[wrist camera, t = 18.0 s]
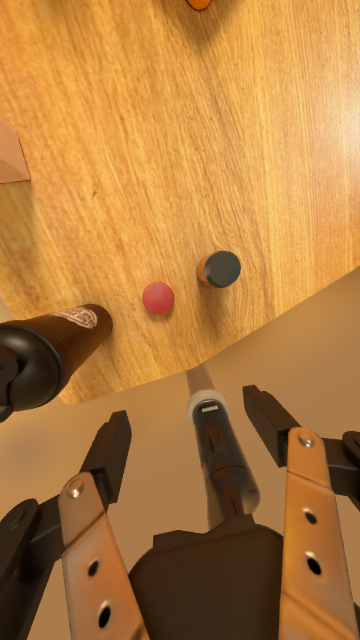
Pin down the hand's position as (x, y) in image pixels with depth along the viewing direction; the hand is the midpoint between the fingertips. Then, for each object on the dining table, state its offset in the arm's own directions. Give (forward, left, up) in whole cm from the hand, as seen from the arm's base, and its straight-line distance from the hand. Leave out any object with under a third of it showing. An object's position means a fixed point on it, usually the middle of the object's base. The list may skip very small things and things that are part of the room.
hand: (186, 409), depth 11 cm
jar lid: (+5, +2, -26) cm, 27 cm away
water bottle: (+2, +18, -28) cm, 33 cm away
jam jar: (+9, -9, -28) cm, 30 cm away
